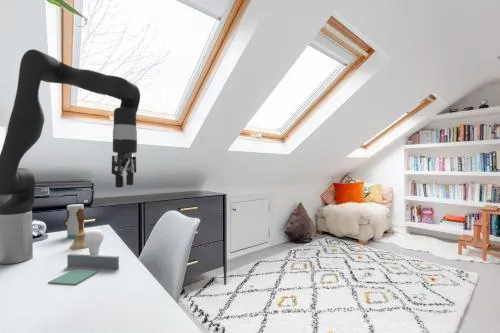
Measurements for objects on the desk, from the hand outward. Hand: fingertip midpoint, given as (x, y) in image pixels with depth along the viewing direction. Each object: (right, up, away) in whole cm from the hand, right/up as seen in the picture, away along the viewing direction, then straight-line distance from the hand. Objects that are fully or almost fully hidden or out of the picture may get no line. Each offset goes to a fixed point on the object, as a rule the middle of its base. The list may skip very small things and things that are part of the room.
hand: (124, 186), depth 92 cm
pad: (-11, -27, -10) cm, 31 cm away
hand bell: (-28, -27, +22) cm, 45 cm away
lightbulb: (-14, -27, +5) cm, 31 cm away
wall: (-10, -27, -2) cm, 29 cm away
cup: (-40, -27, +36) cm, 61 cm away
